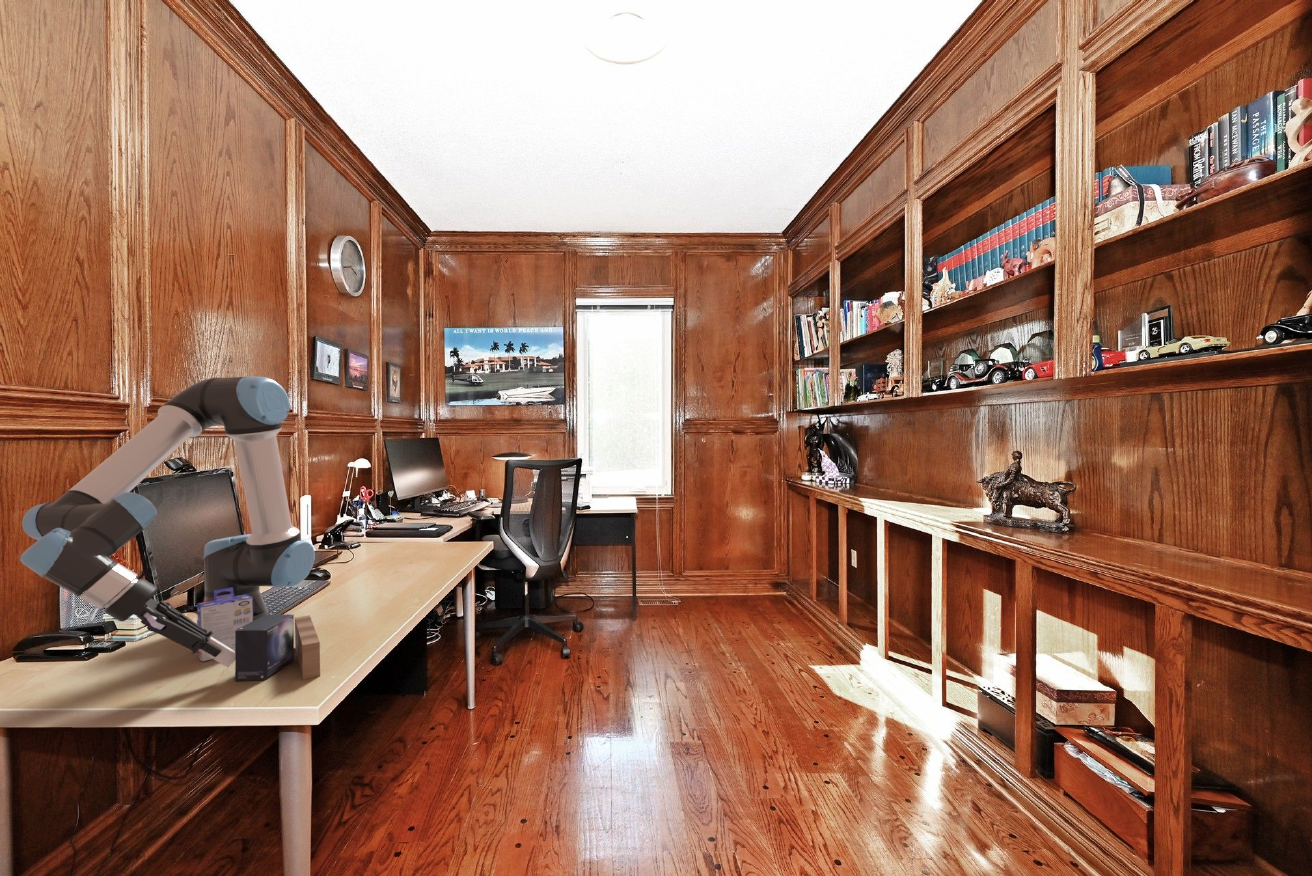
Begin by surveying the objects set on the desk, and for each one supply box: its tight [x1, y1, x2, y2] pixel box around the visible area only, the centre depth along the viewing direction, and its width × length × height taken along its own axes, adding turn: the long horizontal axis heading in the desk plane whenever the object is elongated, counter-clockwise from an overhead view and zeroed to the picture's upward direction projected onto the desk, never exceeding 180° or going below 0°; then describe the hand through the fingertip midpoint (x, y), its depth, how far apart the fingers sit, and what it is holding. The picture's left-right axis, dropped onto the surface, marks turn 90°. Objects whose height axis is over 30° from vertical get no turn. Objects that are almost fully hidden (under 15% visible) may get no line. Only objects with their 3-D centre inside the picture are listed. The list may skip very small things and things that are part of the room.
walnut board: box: [294, 615, 321, 681], centre depth 126 cm, size 22×3×7 cm, turn 36°
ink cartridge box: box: [196, 587, 253, 662], centre depth 131 cm, size 10×6×14 cm, turn 137°
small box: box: [234, 613, 295, 682], centre depth 121 cm, size 11×6×10 cm, turn 4°
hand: (233, 660), depth 118 cm, fingers closed
